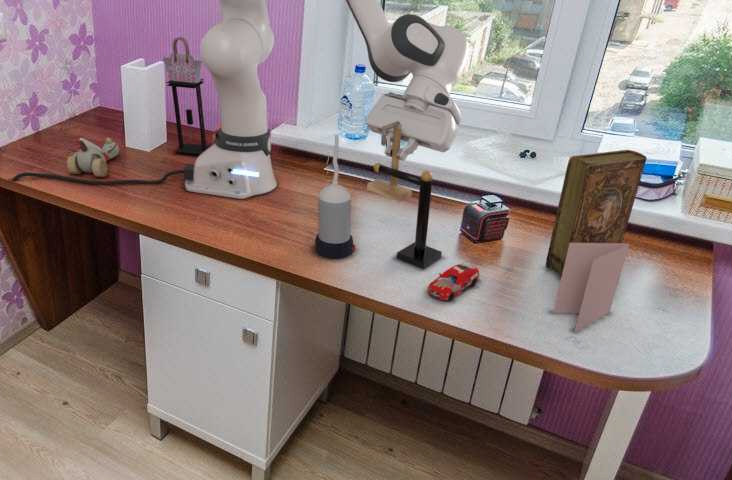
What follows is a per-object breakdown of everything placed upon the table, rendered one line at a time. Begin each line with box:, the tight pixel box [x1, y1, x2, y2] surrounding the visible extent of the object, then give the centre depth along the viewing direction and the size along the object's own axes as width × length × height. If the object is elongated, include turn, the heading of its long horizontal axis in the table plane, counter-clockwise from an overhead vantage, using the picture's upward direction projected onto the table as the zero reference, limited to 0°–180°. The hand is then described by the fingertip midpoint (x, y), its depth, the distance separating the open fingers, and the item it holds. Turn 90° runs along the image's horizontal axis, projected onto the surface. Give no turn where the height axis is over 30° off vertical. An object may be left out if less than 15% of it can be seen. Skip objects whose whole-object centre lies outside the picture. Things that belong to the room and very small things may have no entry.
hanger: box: [366, 121, 413, 202], centre depth 133 cm, size 6×9×15 cm, turn 55°
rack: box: [373, 162, 443, 270], centre depth 135 cm, size 7×16×20 cm, turn 56°
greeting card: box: [552, 242, 630, 332], centre depth 118 cm, size 11×7×15 cm, turn 97°
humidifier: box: [314, 134, 356, 260], centre depth 132 cm, size 8×8×25 cm
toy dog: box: [66, 136, 120, 178], centre depth 165 cm, size 12×19×9 cm, turn 19°
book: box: [545, 149, 647, 278], centre depth 133 cm, size 16×6×25 cm, turn 117°
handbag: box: [162, 36, 211, 157], centre depth 174 cm, size 10×8×30 cm
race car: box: [427, 262, 480, 302], centre depth 128 cm, size 13×5×4 cm, turn 140°
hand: (394, 157), depth 134 cm, fingers closed on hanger
